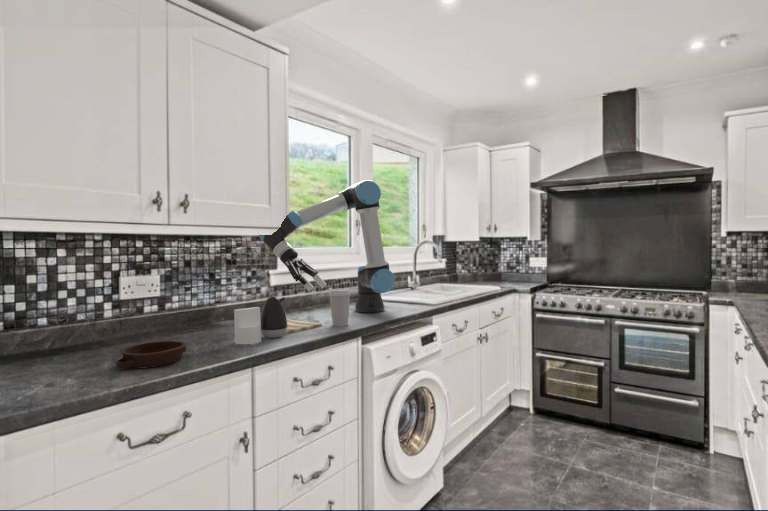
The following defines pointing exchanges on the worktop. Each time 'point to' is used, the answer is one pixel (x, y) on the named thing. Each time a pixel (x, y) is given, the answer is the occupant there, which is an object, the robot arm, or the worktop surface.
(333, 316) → the coffee cup
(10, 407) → the worktop surface
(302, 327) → the birch board
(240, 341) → the grey square canister
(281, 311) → the dark egg shaped speaker
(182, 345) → the dish
